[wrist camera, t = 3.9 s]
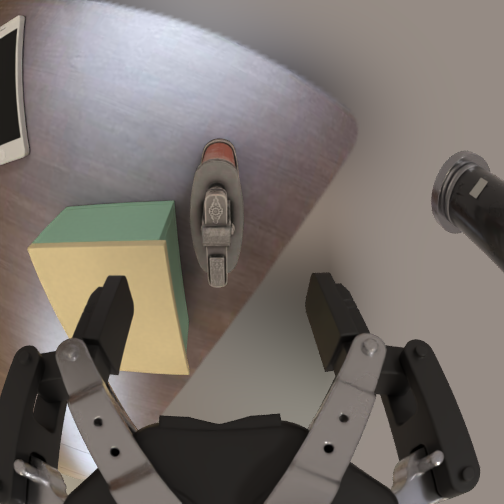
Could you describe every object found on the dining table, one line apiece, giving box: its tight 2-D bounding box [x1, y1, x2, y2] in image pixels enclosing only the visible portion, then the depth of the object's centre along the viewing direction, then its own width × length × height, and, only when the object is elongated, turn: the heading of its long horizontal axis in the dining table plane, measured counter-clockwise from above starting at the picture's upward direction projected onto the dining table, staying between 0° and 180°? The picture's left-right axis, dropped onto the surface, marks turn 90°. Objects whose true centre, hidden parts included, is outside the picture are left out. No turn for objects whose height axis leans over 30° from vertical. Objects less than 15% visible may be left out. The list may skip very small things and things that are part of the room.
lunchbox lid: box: [27, 240, 190, 375], centre depth 22 cm, size 12×16×1 cm
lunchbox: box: [32, 201, 189, 352], centre depth 25 cm, size 12×16×7 cm
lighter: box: [190, 139, 244, 287], centre depth 19 cm, size 8×3×10 cm, turn 178°
